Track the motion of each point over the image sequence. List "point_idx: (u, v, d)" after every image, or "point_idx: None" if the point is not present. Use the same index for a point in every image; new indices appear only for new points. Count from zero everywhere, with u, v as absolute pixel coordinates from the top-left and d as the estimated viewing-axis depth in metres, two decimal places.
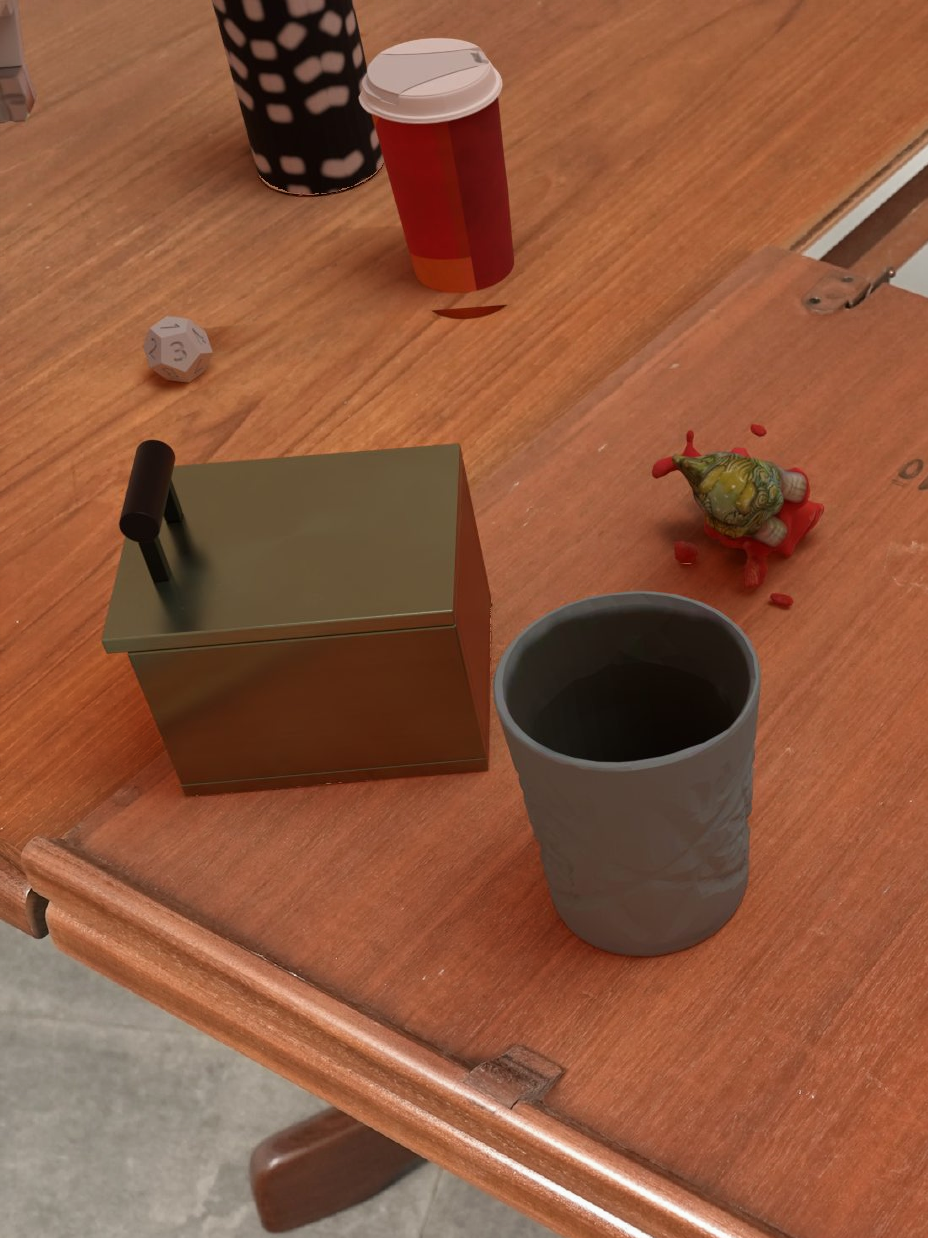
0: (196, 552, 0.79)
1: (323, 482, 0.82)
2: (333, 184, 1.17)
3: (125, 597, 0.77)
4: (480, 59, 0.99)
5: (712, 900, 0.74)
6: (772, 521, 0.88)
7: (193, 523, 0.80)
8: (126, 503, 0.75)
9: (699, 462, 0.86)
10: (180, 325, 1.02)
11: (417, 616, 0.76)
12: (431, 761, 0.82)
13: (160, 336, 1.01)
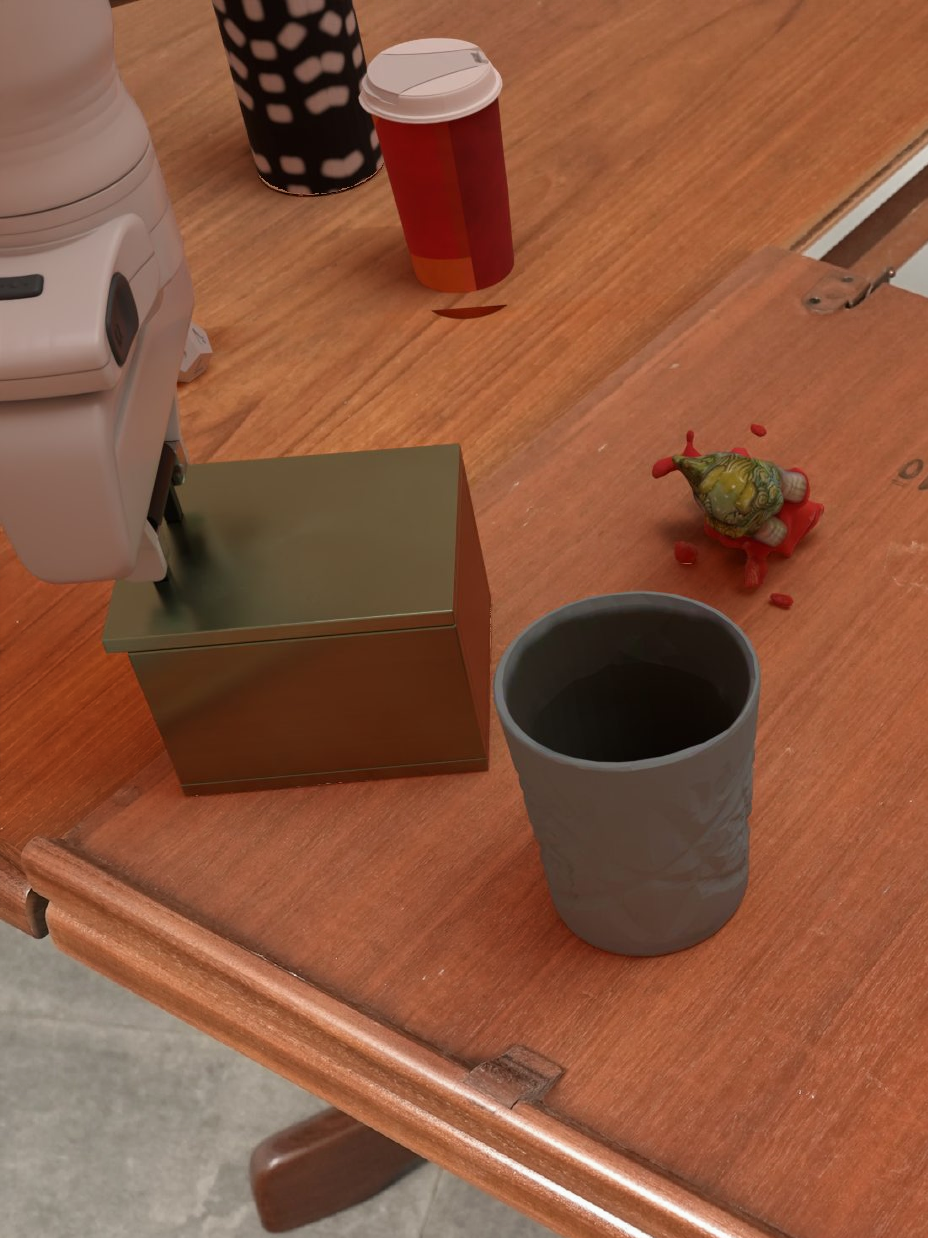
0: (196, 551, 0.79)
1: (323, 482, 0.82)
2: (333, 184, 1.17)
3: (125, 597, 0.77)
4: (480, 59, 0.99)
5: (712, 900, 0.74)
6: (772, 521, 0.88)
7: (193, 523, 0.80)
8: None
9: (699, 462, 0.86)
10: None
11: (417, 616, 0.76)
12: (431, 761, 0.82)
13: None
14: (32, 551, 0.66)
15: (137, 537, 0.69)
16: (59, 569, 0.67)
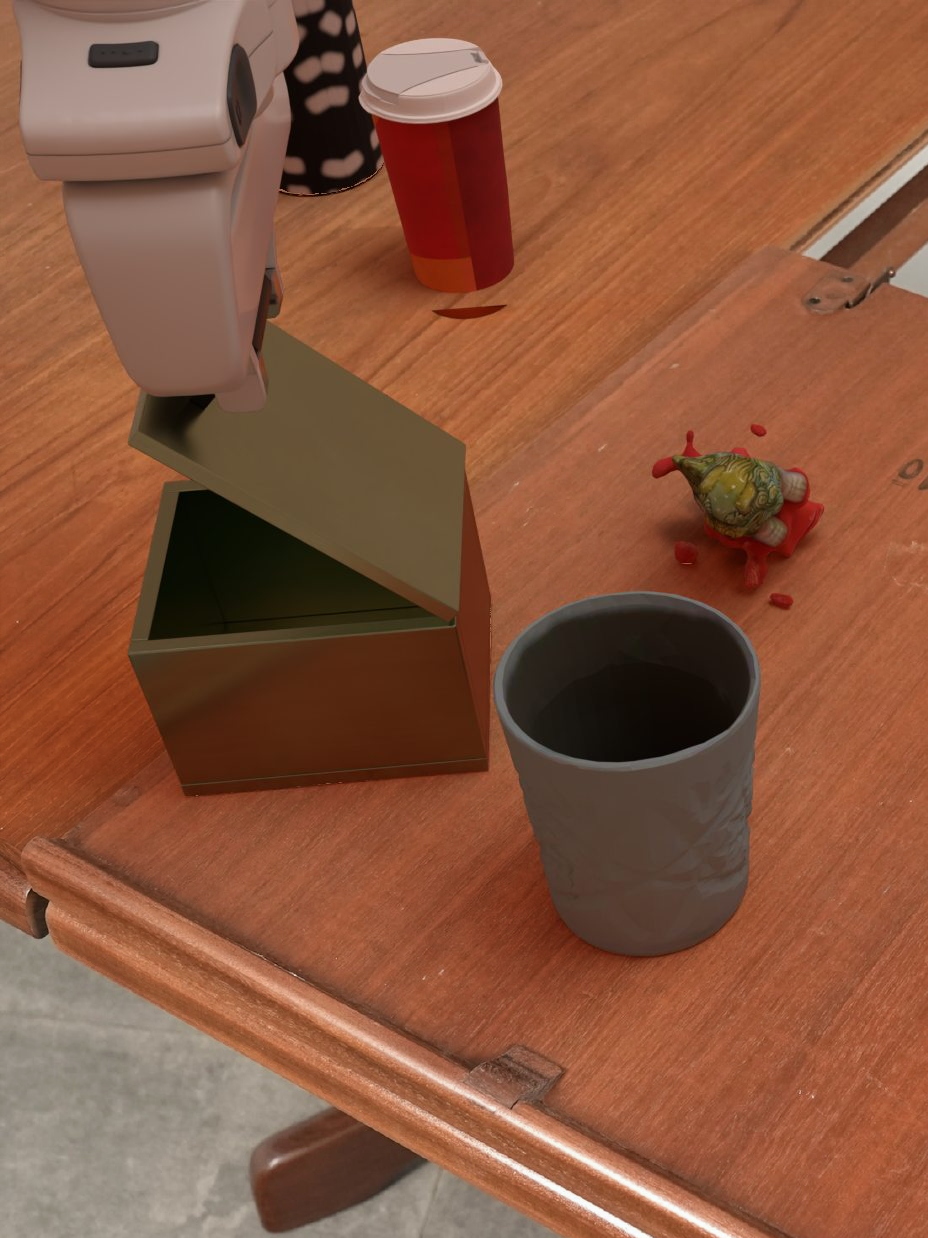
0: None
1: (349, 401, 0.79)
2: (333, 184, 1.17)
3: (162, 399, 0.70)
4: (480, 59, 0.99)
5: (712, 900, 0.74)
6: (772, 521, 0.88)
7: None
8: None
9: (699, 462, 0.86)
10: None
11: (428, 597, 0.75)
12: (431, 761, 0.82)
13: None
14: (138, 354, 0.61)
15: (247, 347, 0.63)
16: (165, 376, 0.61)
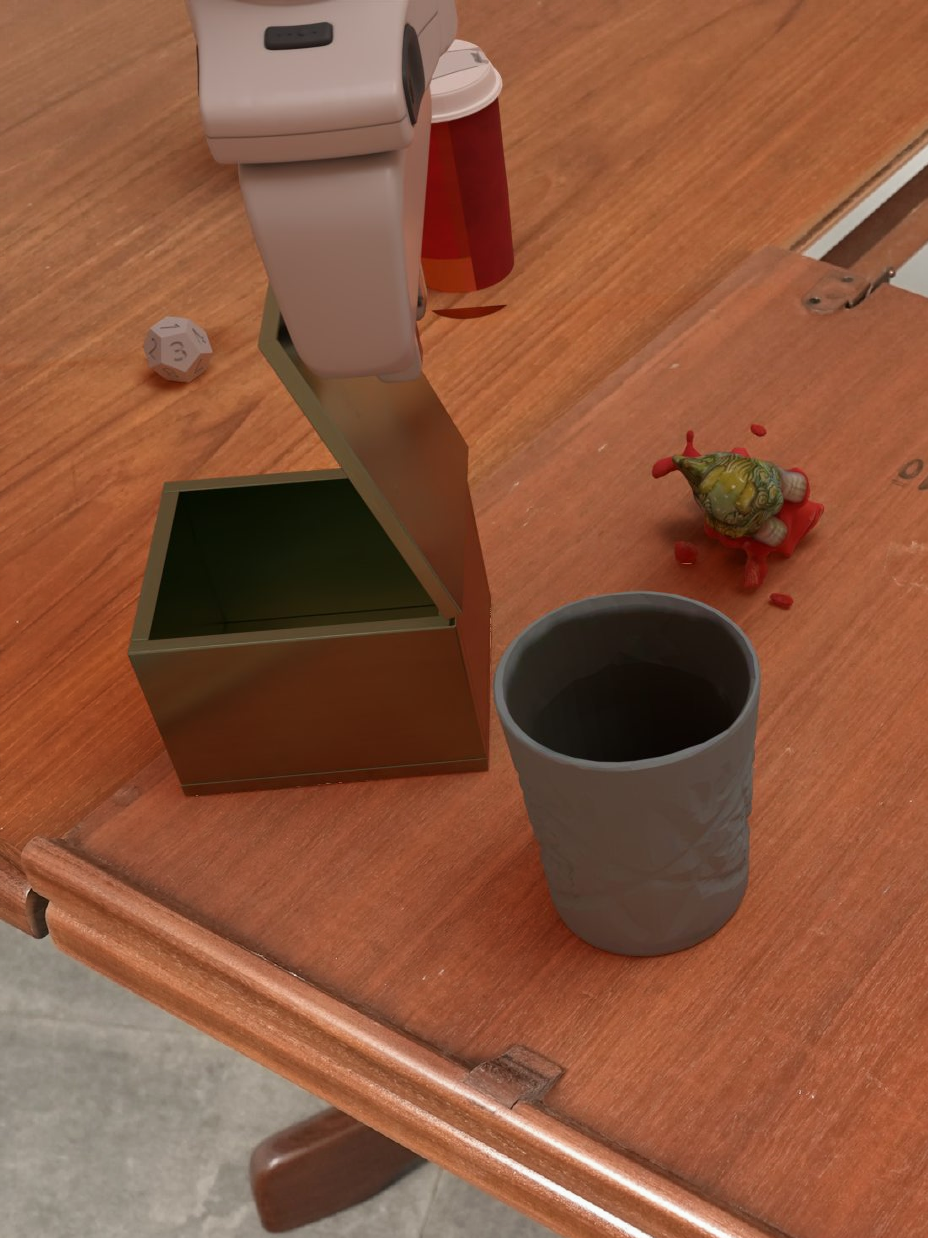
0: None
1: None
2: None
3: None
4: (480, 59, 0.99)
5: (712, 900, 0.74)
6: (772, 521, 0.88)
7: None
8: None
9: (699, 462, 0.86)
10: (180, 325, 1.02)
11: (443, 591, 0.75)
12: (431, 761, 0.82)
13: (160, 336, 1.01)
14: (310, 336, 0.61)
15: (413, 328, 0.63)
16: (337, 358, 0.61)
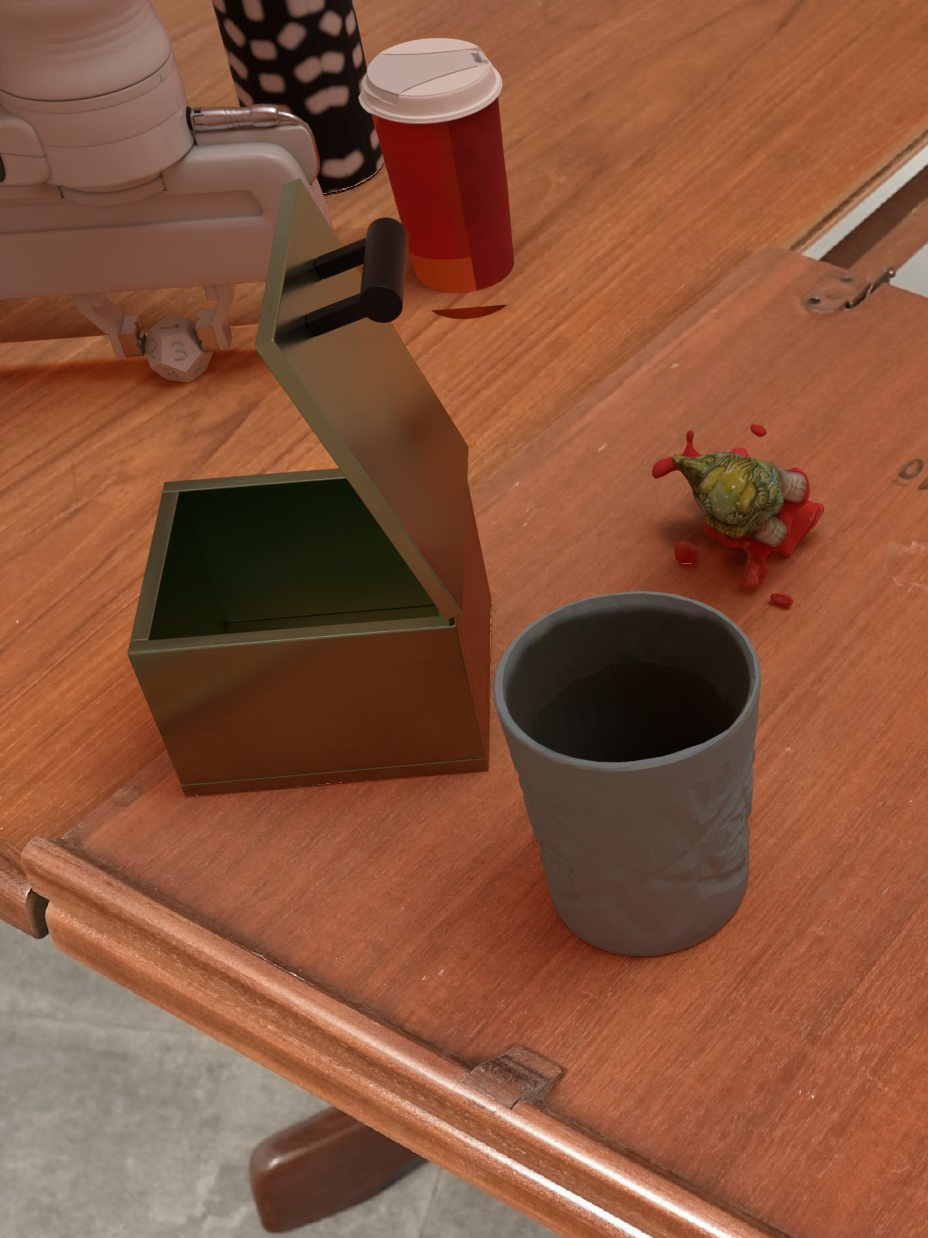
0: (331, 331, 0.71)
1: (401, 371, 0.78)
2: (333, 184, 1.17)
3: (289, 314, 0.68)
4: (480, 59, 0.99)
5: (712, 900, 0.74)
6: (772, 521, 0.88)
7: (330, 295, 0.72)
8: (391, 276, 0.69)
9: (699, 462, 0.86)
10: (181, 325, 1.02)
11: (443, 591, 0.75)
12: (431, 761, 0.82)
13: (160, 336, 1.01)
14: None
15: None
16: None
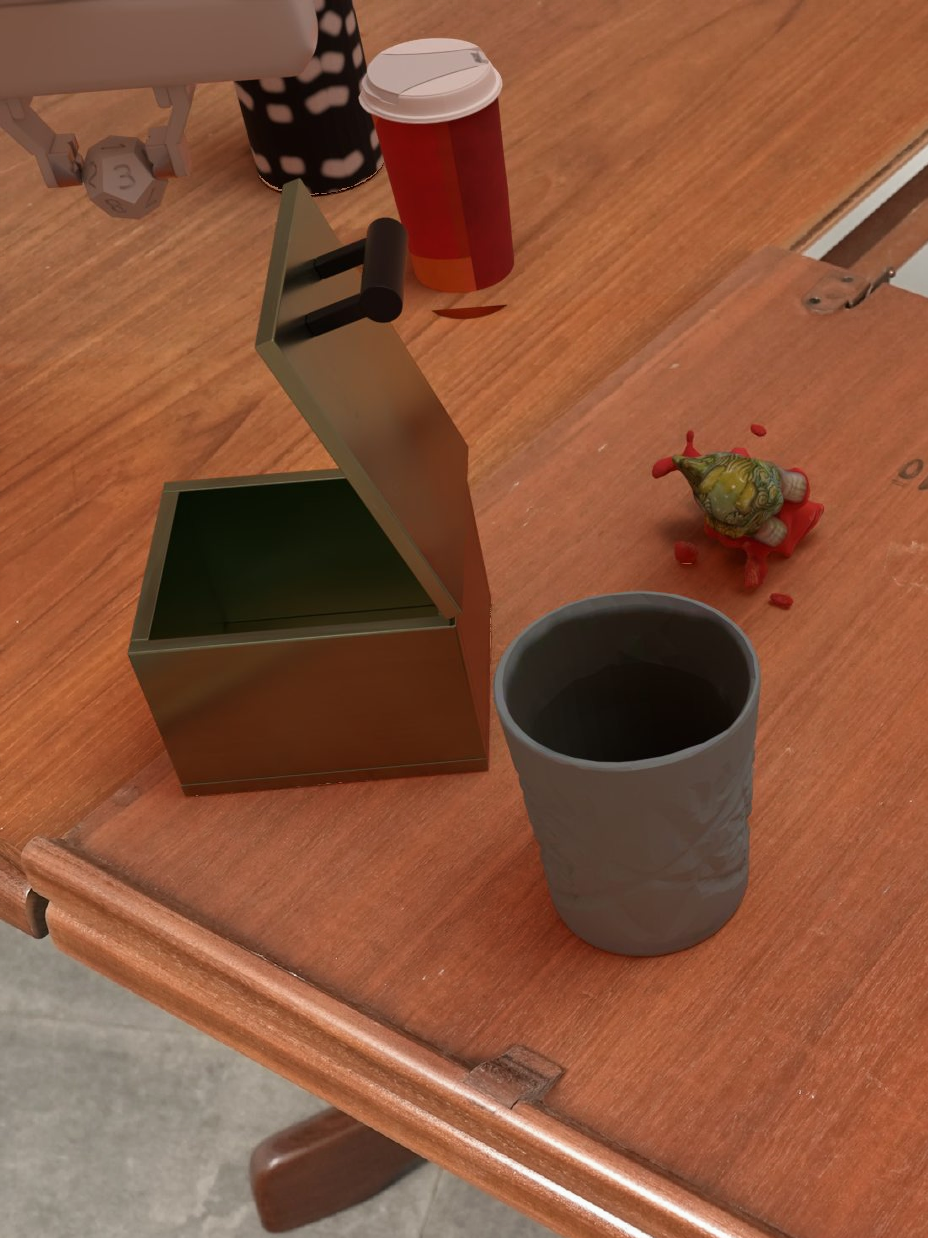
0: (331, 331, 0.71)
1: (401, 371, 0.78)
2: (333, 184, 1.17)
3: (289, 314, 0.68)
4: (480, 59, 0.99)
5: (712, 900, 0.74)
6: (772, 521, 0.88)
7: (330, 295, 0.72)
8: (391, 276, 0.69)
9: (699, 462, 0.86)
10: (127, 145, 0.81)
11: (443, 591, 0.75)
12: (431, 761, 0.82)
13: (101, 157, 0.81)
14: None
15: None
16: None
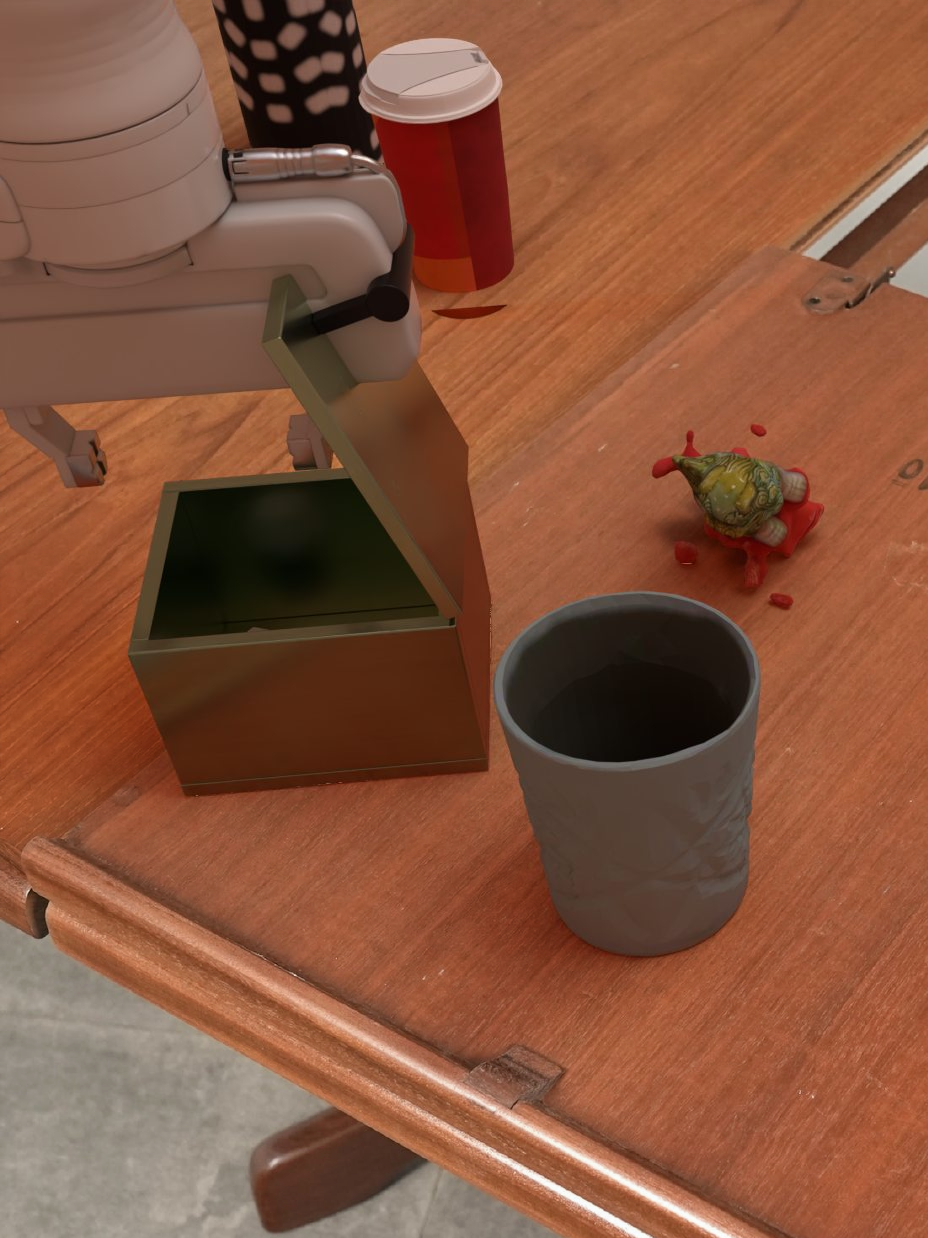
0: None
1: None
2: None
3: (295, 311, 0.68)
4: (480, 59, 0.99)
5: (712, 900, 0.74)
6: (772, 521, 0.88)
7: None
8: (398, 276, 0.69)
9: (699, 462, 0.86)
10: None
11: (444, 590, 0.75)
12: (431, 761, 0.82)
13: None
14: None
15: None
16: None
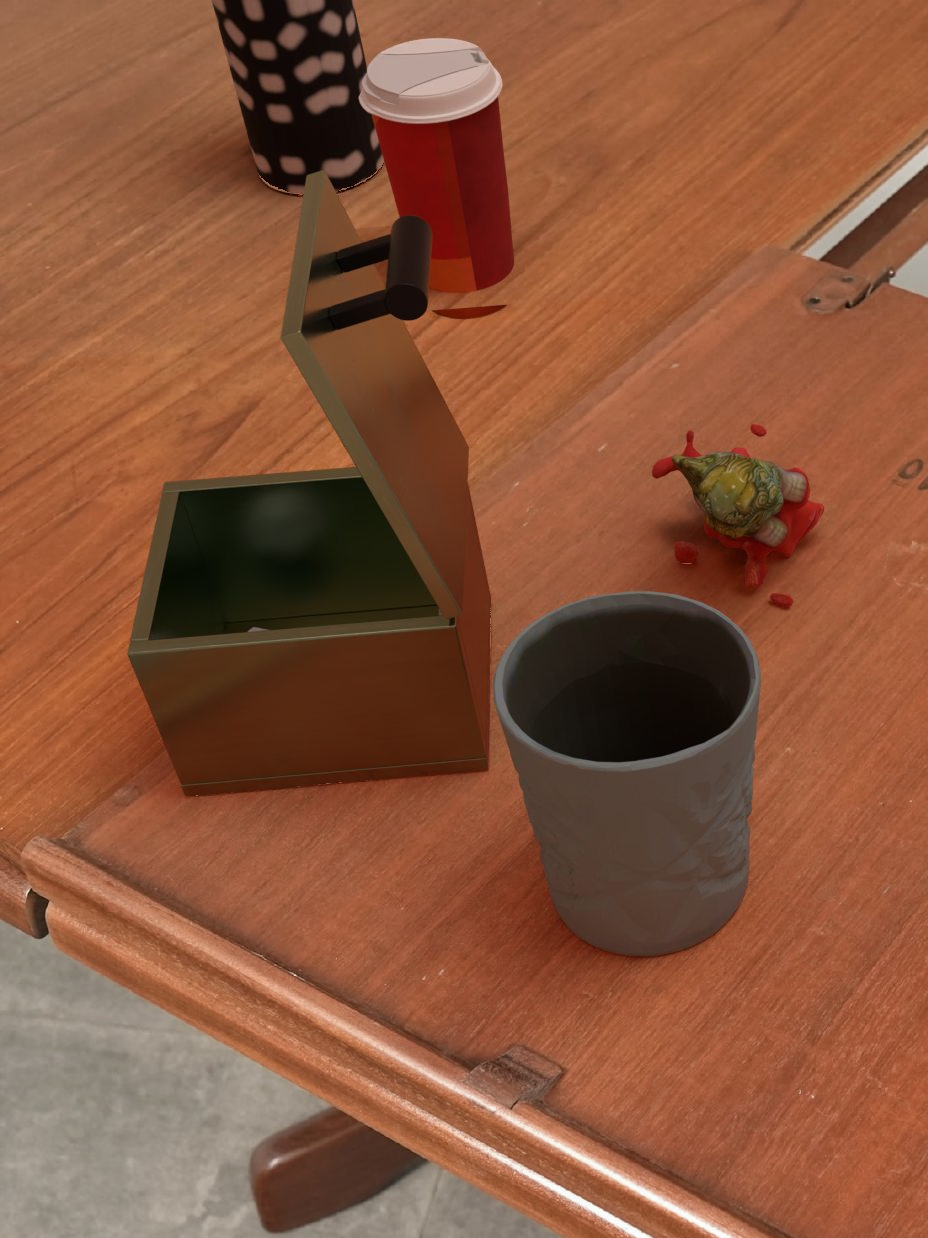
0: None
1: (411, 368, 0.78)
2: (333, 184, 1.17)
3: (314, 306, 0.68)
4: (480, 59, 0.99)
5: (712, 900, 0.74)
6: (772, 521, 0.88)
7: (350, 289, 0.72)
8: (418, 275, 0.69)
9: (699, 462, 0.86)
10: None
11: (445, 590, 0.75)
12: (431, 761, 0.82)
13: None
14: None
15: None
16: None
